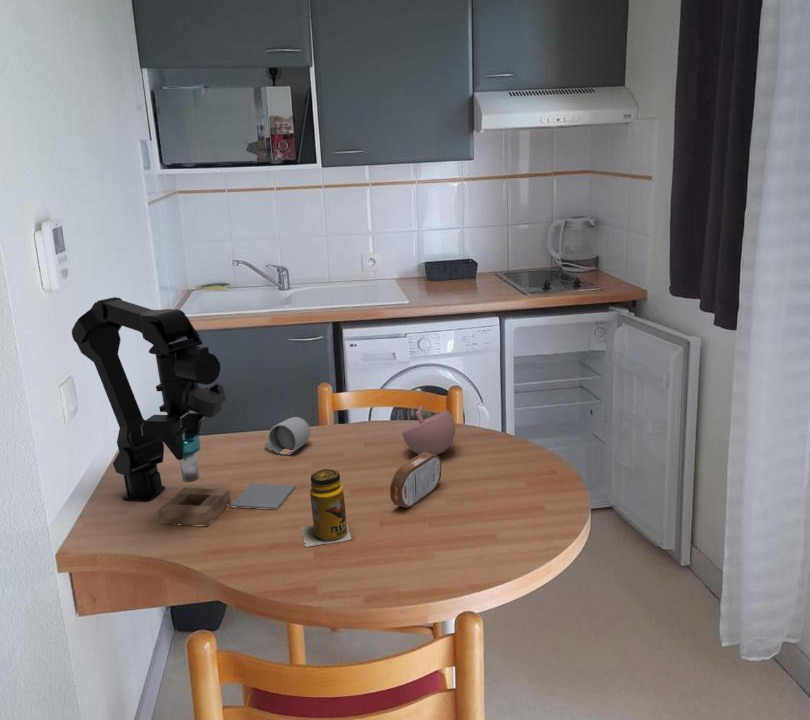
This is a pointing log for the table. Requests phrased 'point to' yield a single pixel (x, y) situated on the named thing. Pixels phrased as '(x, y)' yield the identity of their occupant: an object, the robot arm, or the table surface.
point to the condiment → (326, 510)
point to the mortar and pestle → (430, 433)
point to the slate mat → (263, 496)
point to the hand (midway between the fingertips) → (187, 453)
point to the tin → (415, 479)
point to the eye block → (194, 506)
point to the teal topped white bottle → (190, 457)
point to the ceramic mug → (288, 435)
